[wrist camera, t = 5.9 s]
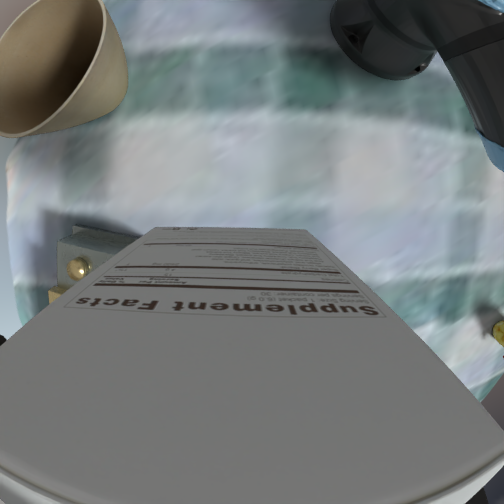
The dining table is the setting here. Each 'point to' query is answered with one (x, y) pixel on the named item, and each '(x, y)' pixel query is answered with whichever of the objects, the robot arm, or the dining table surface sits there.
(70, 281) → the grey and gold block
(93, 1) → the plant pot
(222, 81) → the dining table surface
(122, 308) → the supplement box
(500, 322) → the chocolate bunny
